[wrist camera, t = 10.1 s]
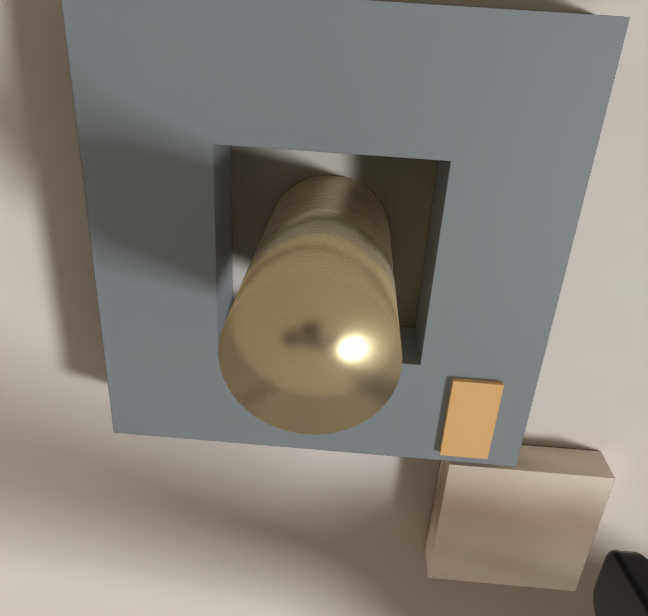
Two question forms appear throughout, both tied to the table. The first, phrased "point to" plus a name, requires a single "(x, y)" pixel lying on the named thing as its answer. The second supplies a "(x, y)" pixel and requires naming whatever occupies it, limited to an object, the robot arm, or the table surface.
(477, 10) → the hole plate
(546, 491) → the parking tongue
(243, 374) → the brass peg
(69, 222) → the table surface
